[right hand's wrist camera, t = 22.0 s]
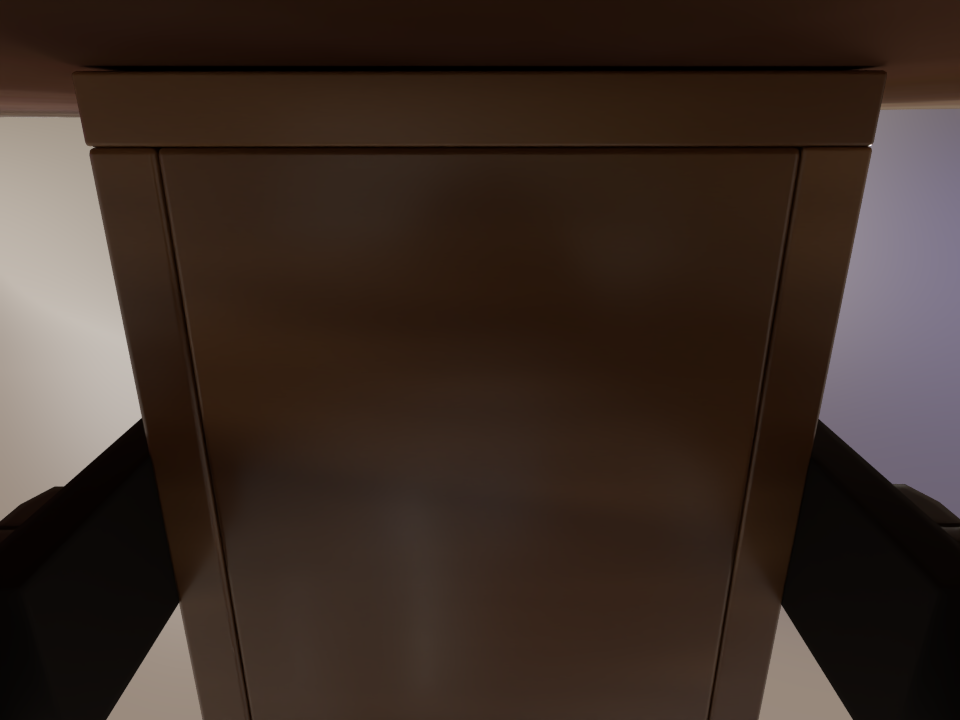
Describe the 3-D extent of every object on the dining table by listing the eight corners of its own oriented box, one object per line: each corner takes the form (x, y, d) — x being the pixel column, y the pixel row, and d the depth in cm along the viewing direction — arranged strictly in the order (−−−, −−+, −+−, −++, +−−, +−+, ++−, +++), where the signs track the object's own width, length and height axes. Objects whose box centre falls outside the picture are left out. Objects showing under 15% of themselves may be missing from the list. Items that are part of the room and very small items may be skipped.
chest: (627, 104, 22) (605, 404, 26) (336, 104, 22) (357, 403, 26) (890, 70, 8) (754, 747, 12) (68, 70, 8) (205, 744, 12)
